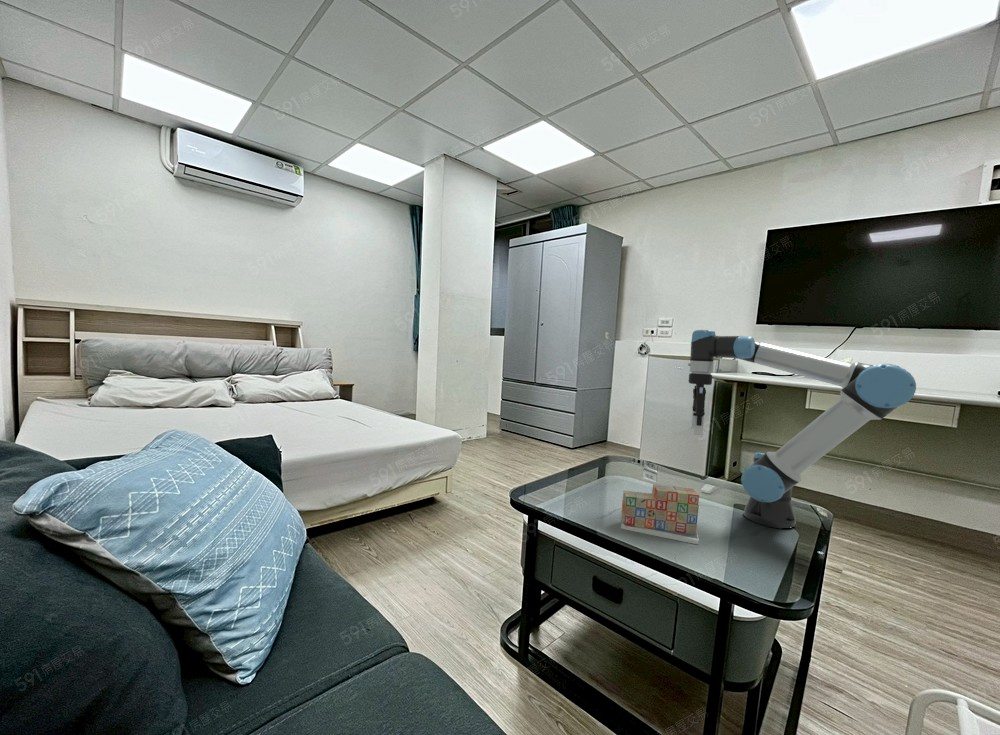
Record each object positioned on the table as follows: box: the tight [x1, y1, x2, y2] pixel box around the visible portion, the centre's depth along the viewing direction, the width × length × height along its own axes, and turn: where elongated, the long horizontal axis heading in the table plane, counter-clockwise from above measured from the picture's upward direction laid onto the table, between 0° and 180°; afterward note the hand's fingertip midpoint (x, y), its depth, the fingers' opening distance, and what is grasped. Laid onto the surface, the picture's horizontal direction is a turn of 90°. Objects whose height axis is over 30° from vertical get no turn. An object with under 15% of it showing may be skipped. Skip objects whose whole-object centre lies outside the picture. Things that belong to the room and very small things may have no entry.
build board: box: [620, 519, 700, 545], centre depth 127 cm, size 22×10×1 cm, turn 67°
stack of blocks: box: [621, 483, 700, 534], centre depth 127 cm, size 21×6×12 cm, turn 80°
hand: (696, 432), depth 145 cm, fingers open, 13 cm apart
